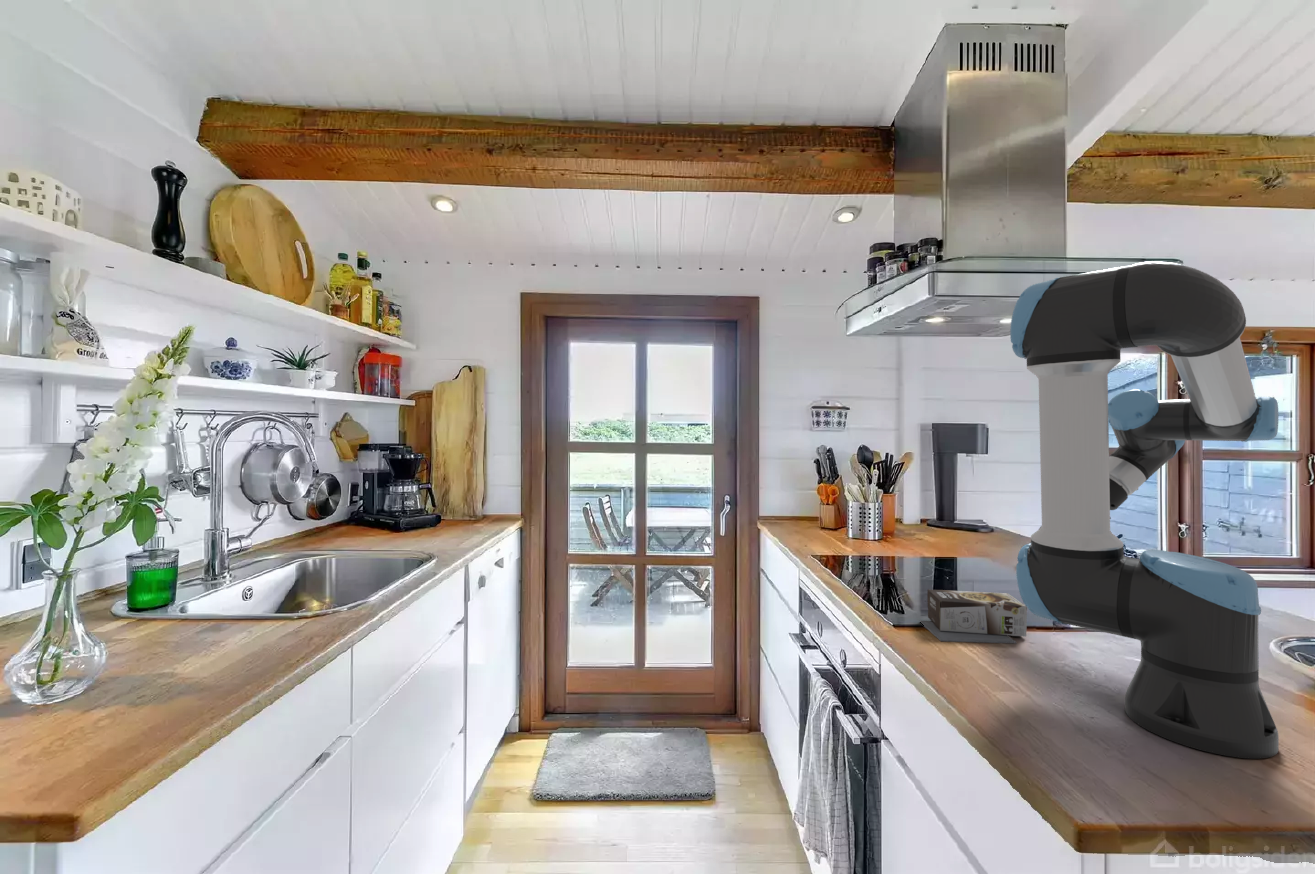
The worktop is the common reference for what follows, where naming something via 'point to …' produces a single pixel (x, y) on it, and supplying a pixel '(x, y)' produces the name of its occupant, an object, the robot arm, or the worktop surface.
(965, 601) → the coffee box
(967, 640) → the mat
